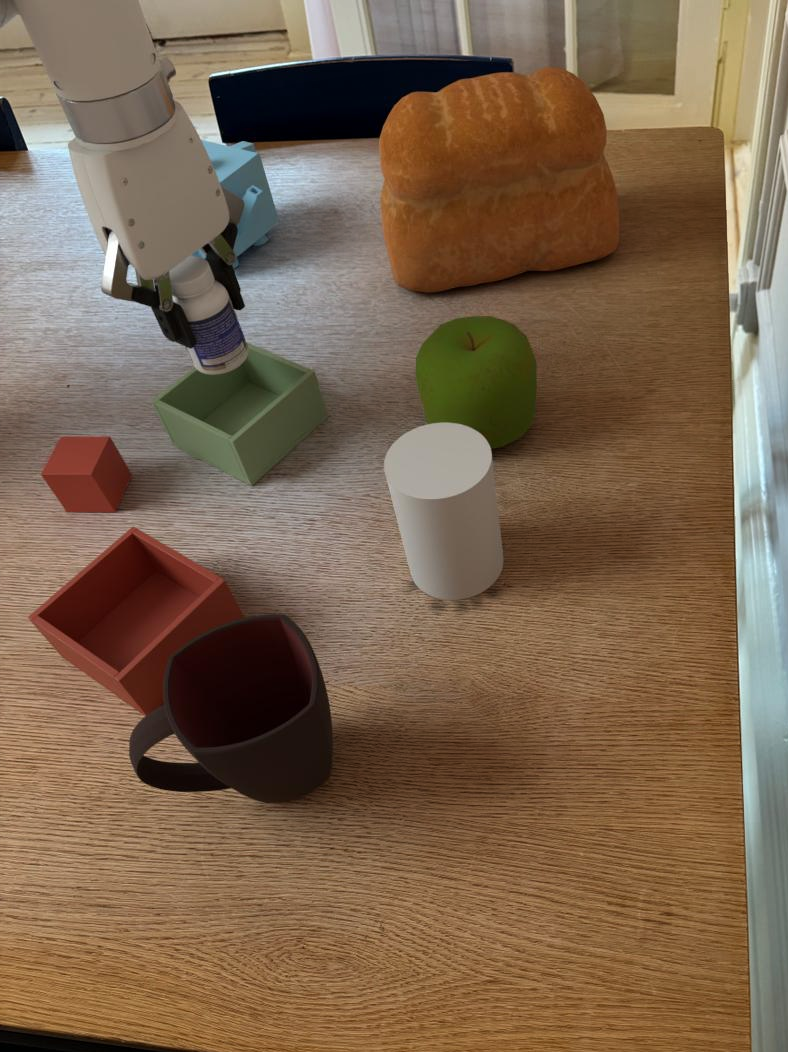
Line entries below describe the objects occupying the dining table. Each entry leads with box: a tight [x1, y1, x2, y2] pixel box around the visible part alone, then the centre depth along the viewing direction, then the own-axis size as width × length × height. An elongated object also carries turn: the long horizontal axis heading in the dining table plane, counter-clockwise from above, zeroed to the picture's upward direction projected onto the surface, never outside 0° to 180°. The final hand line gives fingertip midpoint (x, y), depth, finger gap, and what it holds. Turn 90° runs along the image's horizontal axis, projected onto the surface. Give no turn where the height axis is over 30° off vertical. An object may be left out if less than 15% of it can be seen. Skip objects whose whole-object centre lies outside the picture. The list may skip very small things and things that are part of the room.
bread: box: [378, 66, 620, 294], centre depth 95 cm, size 16×26×17 cm, turn 100°
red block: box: [40, 435, 133, 513], centre depth 83 cm, size 5×5×5 cm
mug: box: [128, 613, 334, 804], centre depth 61 cm, size 10×14×12 cm
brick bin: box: [27, 525, 246, 717], centre depth 72 cm, size 11×11×6 cm
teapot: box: [189, 139, 280, 270], centre depth 104 cm, size 16×18×11 cm
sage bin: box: [150, 341, 329, 487], centre depth 86 cm, size 11×11×6 cm
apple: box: [415, 315, 538, 450], centre depth 81 cm, size 11×11×11 cm
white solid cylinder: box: [383, 423, 505, 601], centre depth 71 cm, size 8×8×12 cm
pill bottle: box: [169, 257, 249, 375], centre depth 77 cm, size 5×5×9 cm
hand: (206, 321), depth 78 cm, fingers closed on pill bottle, 5 cm apart
